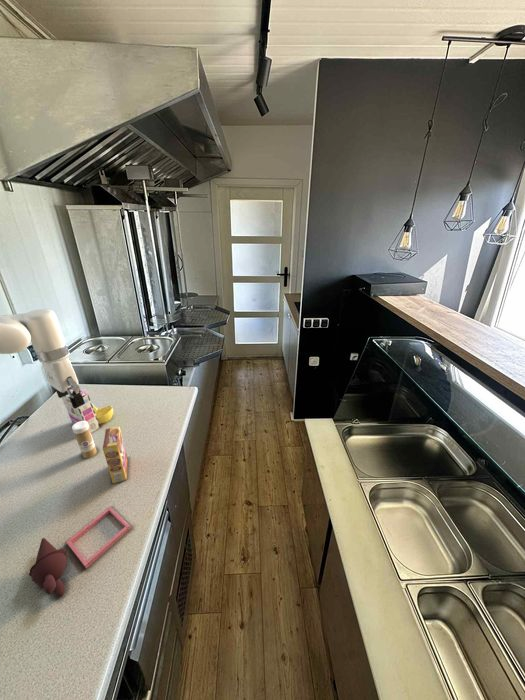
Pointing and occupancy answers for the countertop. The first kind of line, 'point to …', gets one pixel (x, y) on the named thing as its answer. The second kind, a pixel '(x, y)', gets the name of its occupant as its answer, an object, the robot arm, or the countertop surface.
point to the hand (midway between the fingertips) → (71, 400)
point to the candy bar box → (82, 412)
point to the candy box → (115, 454)
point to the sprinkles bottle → (84, 439)
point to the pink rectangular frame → (107, 545)
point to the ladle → (103, 413)
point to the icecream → (49, 568)
